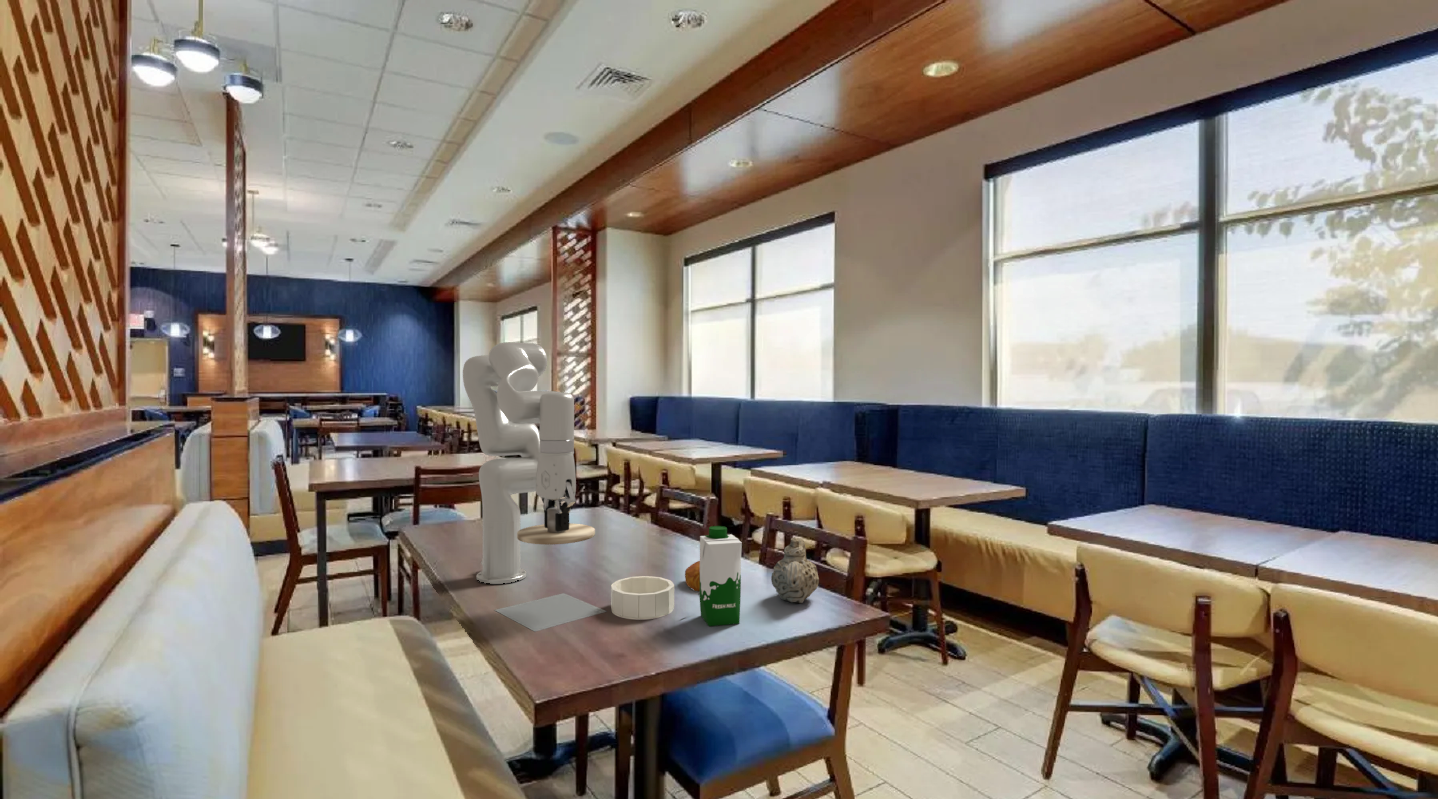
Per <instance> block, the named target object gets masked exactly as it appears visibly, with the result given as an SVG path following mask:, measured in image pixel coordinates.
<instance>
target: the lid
mask: <svg viewBox="0 0 1438 799" xmlns="http://www.w3.org/2000/svg"><path fill="white" fill-rule="evenodd" d="M555 513H557V507H554V508H549V509H547V528H545V527H544V524H537V525H532V526H528V527H524V528H520V530H519V531H518V532H517V539H518V540H519V541H520V542H521V543H522V542H523V543H526V544H533V545H544V546H545V545H549V546H550V545H565V544H566V545H568V544H574V543H579V542H583V541H587V540H590V539H592V538H594V536H596V535H595V534H596V528H594V526H591V525H587V524H582V523H573V522H569V530H565V531H559V532H557V531H556V530H555Z"/></svg>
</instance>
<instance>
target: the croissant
mask: <svg viewBox="0 0 1438 799" xmlns="http://www.w3.org/2000/svg"><path fill="white" fill-rule="evenodd" d="M684 578H685V584H686V585H687V587H689V588H690V589H692V590H693V591H694V592H699V588H700V560H697V561H695V562H694V563H692V564H690V565H689V566H688V567H687V568H686V569H685V571H684Z"/></svg>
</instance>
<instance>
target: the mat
mask: <svg viewBox="0 0 1438 799" xmlns="http://www.w3.org/2000/svg"><path fill="white" fill-rule="evenodd" d="M494 612H497V613H498V614H500V615H502V616H504V617H506V618H508V619H510V620H512V621H514V622H516V623H517V624H519V625H521V626H523V627H525V628H527V629H529V630H530V631H533V632H534V633H536V632H539V631H543V630H547V629H549V628H554V627H558V626H561V625H564V624H568V623H571V622H575V621H578V620H582V619H586V618H590V617H592V616H596V615H600V614H603V613H607V612H608V611H607V610H605V609H602V608H600V607H598V606H596V605H592V604H591V603H589V602H586V601H583V600H582V599H578V598H576V597H574V596H572V595H569V594H567V593H564V592H562V593H560V594H554V595H551V596H550V595H549V596H545V597H543V598H538V599H535V600H530V601H526V602H520V603H518V604H513V605H509V606H506V607H502V608H497V609H494Z"/></svg>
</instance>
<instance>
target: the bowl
mask: <svg viewBox="0 0 1438 799" xmlns="http://www.w3.org/2000/svg"><path fill="white" fill-rule="evenodd" d="M610 607H611V612H612V614H613V615H615V616H617V617H619V618H622V619H627V620H637V621H639V620H640V621H641V620H642V621H643V620H652V619H653V620H654V619H658V618H661V617H666V616H668V615H669V614H671V613H672V612H673V611H674V608H675V584H674V582H673V581H672V580H670V579H667V578H664V577H661V576H660V577H659V576H651V575H649V576H648V575H645V576H644V575H643V576H642V575H641V576H639V575H638V576H628V577H626V578H620V579H617V580H616V581H614V582H613V583H612V584H611V585H610Z"/></svg>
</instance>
